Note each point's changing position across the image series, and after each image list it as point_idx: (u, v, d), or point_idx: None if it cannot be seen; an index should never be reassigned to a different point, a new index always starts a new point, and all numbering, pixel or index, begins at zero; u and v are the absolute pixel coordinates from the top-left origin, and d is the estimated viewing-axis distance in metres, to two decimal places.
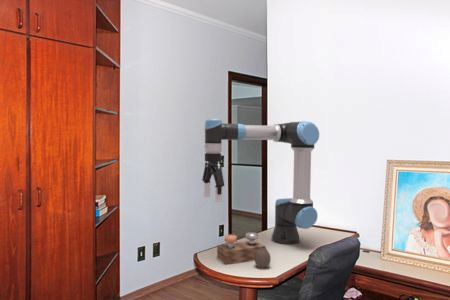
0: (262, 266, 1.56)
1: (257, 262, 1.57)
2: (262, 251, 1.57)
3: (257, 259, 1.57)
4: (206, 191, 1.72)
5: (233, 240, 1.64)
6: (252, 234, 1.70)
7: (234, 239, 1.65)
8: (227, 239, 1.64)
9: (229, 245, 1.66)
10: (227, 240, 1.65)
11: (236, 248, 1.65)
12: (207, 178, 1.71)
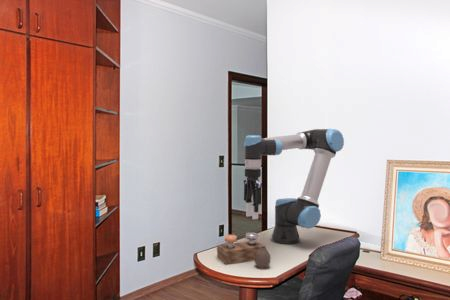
0: (262, 266, 1.56)
1: (257, 262, 1.57)
2: (262, 251, 1.57)
3: (257, 259, 1.57)
4: (248, 210, 1.73)
5: (233, 240, 1.64)
6: (252, 234, 1.70)
7: (234, 239, 1.65)
8: (227, 239, 1.64)
9: (229, 245, 1.66)
10: (227, 240, 1.65)
11: (236, 248, 1.65)
12: (248, 196, 1.73)
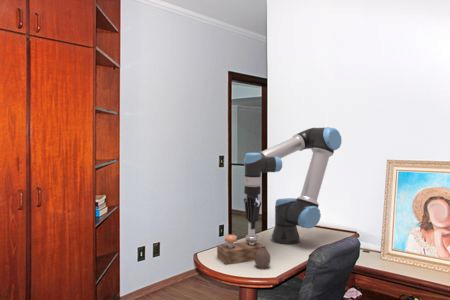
0: (262, 266, 1.56)
1: (257, 262, 1.57)
2: (262, 251, 1.57)
3: (257, 259, 1.57)
4: None
5: (233, 240, 1.64)
6: (252, 236, 1.70)
7: (234, 239, 1.65)
8: (227, 239, 1.64)
9: (229, 245, 1.66)
10: (227, 240, 1.65)
11: (236, 248, 1.65)
12: None
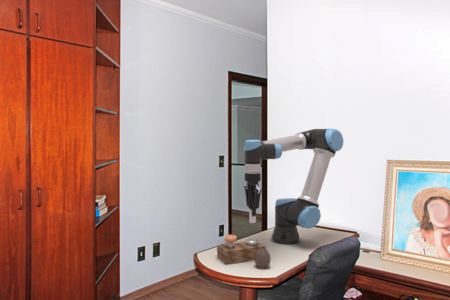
0: (262, 266, 1.56)
1: (257, 262, 1.57)
2: (262, 251, 1.57)
3: (257, 259, 1.57)
4: None
5: (233, 240, 1.64)
6: (252, 241, 1.70)
7: (234, 239, 1.65)
8: (227, 239, 1.64)
9: (229, 245, 1.66)
10: (227, 240, 1.65)
11: (236, 248, 1.65)
12: None
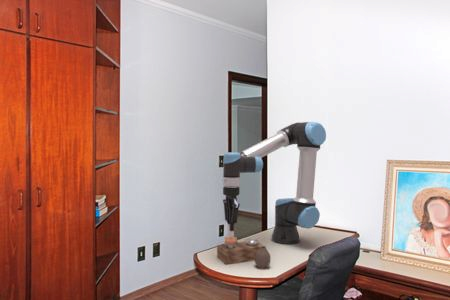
0: (262, 266, 1.56)
1: (257, 262, 1.57)
2: (262, 251, 1.57)
3: (257, 259, 1.57)
4: None
5: (233, 241, 1.64)
6: (252, 241, 1.70)
7: (234, 241, 1.65)
8: (227, 241, 1.65)
9: (229, 247, 1.66)
10: (227, 242, 1.65)
11: (236, 248, 1.65)
12: None
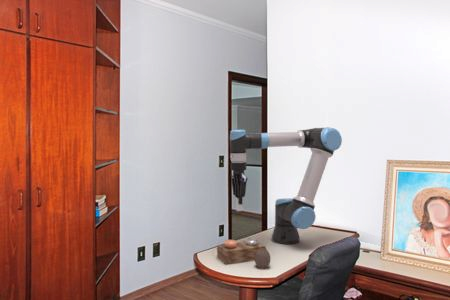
0: (262, 266, 1.56)
1: (257, 262, 1.57)
2: (262, 251, 1.57)
3: (257, 259, 1.57)
4: None
5: (233, 245, 1.64)
6: (252, 241, 1.70)
7: (234, 244, 1.65)
8: (227, 244, 1.65)
9: None
10: (227, 245, 1.65)
11: (236, 248, 1.65)
12: None
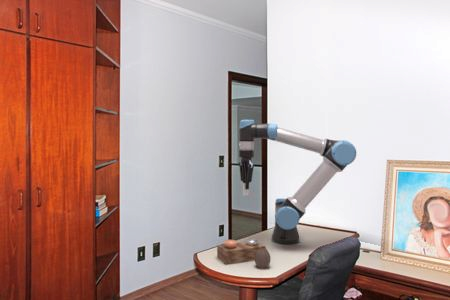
0: (262, 266, 1.56)
1: (257, 262, 1.57)
2: (262, 251, 1.57)
3: (257, 259, 1.57)
4: None
5: (233, 245, 1.64)
6: (252, 241, 1.70)
7: (234, 244, 1.65)
8: (227, 244, 1.65)
9: None
10: (227, 245, 1.65)
11: (236, 248, 1.65)
12: (244, 176, 1.89)
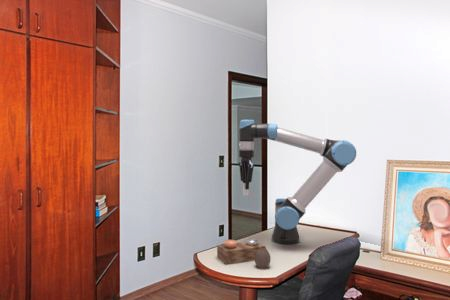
0: (262, 266, 1.56)
1: (257, 262, 1.57)
2: (262, 251, 1.57)
3: (257, 259, 1.57)
4: None
5: (233, 245, 1.64)
6: (252, 241, 1.70)
7: (234, 244, 1.65)
8: (227, 244, 1.65)
9: None
10: (227, 245, 1.65)
11: (236, 248, 1.65)
12: (244, 176, 1.89)
